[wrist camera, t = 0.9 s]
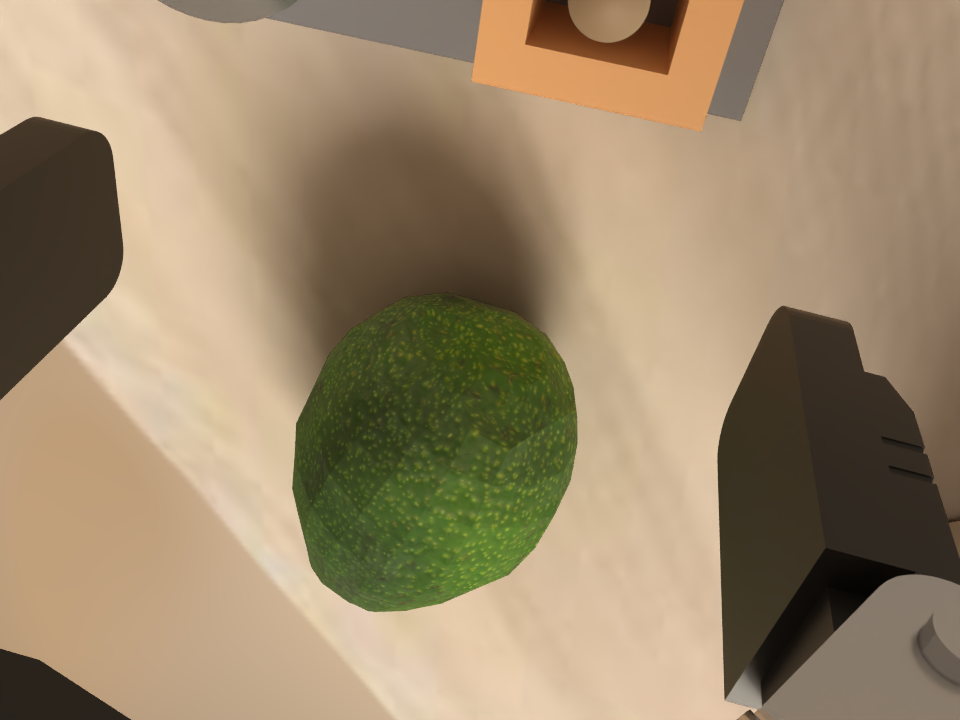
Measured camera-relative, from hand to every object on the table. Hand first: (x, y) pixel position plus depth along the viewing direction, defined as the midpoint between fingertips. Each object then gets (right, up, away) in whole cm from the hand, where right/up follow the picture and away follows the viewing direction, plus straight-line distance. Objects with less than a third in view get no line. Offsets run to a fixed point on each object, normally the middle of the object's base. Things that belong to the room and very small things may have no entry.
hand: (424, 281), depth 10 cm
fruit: (-1, -2, +26) cm, 26 cm away
